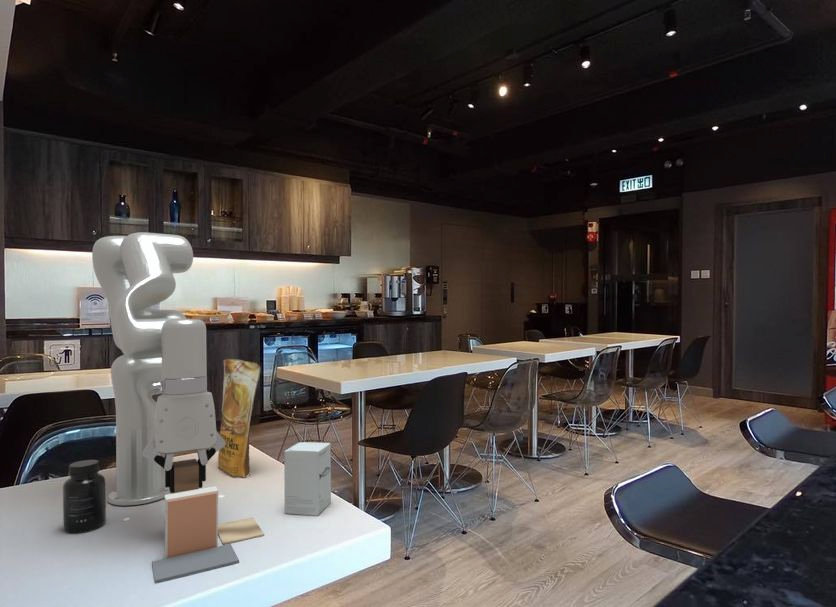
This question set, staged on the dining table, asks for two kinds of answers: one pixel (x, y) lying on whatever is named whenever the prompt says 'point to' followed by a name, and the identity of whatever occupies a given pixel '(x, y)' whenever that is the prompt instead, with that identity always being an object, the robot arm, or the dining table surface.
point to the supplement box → (307, 478)
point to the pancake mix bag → (237, 415)
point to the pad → (239, 530)
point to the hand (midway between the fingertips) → (185, 487)
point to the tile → (191, 521)
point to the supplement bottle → (84, 497)
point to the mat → (193, 563)
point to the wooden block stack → (186, 475)
